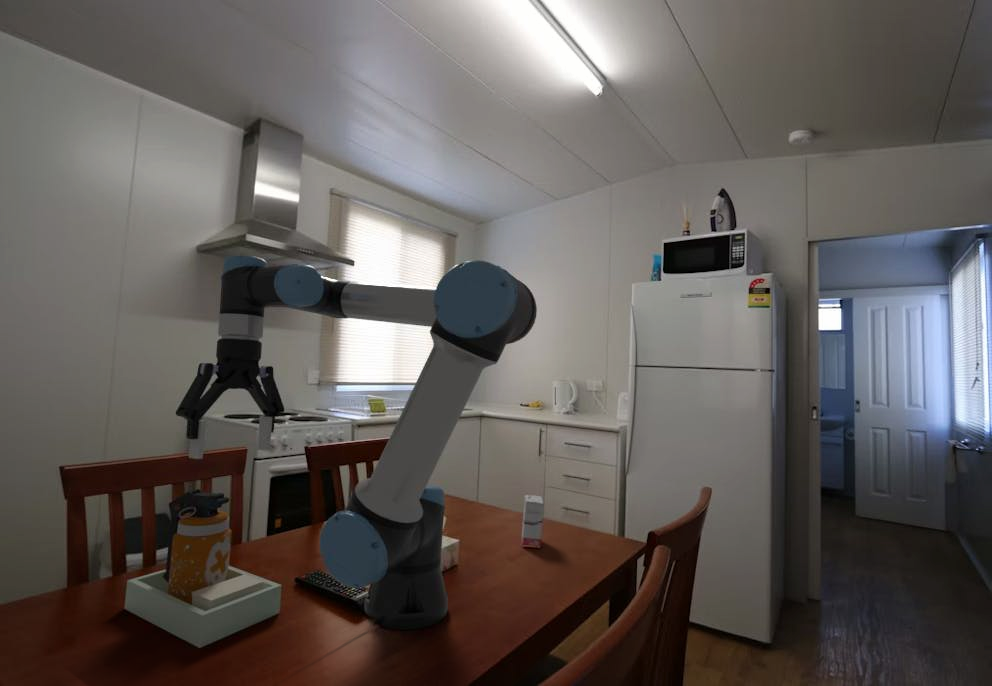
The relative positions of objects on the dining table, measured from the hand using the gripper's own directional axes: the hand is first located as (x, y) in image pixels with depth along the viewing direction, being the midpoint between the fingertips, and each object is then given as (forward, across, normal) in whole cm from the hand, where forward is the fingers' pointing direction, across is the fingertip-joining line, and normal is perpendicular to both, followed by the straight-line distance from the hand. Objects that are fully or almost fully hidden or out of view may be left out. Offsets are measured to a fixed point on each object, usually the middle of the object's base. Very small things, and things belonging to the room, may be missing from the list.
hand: (231, 454), depth 93 cm
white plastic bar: (+26, +4, +7) cm, 28 cm away
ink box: (+28, -67, +32) cm, 80 cm away
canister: (+26, +4, -2) cm, 27 cm away
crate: (+27, +4, 0) cm, 27 cm away
